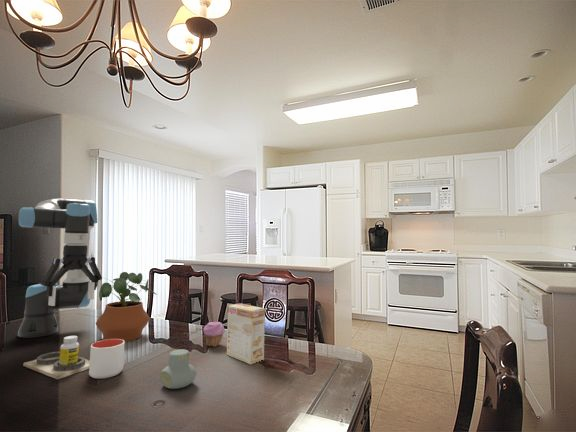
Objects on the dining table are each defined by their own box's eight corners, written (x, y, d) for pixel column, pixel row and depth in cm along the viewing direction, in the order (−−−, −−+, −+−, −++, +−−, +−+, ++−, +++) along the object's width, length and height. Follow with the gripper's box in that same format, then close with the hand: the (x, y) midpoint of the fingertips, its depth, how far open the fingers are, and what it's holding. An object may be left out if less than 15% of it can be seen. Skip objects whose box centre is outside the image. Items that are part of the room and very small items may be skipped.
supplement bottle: (67, 370, 107) (70, 340, 108) (54, 368, 109) (57, 338, 109) (81, 364, 113) (83, 335, 113) (68, 362, 114) (70, 334, 115)
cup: (129, 370, 111) (131, 340, 111) (104, 382, 101) (106, 349, 102) (107, 366, 114) (109, 337, 115) (81, 377, 104) (83, 345, 105)
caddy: (63, 354, 124) (63, 348, 124) (97, 365, 114) (97, 358, 114) (23, 365, 113) (23, 358, 113) (57, 379, 102) (57, 371, 103)
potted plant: (81, 341, 140) (85, 272, 143) (130, 325, 167) (133, 268, 169) (122, 347, 133) (126, 275, 136) (167, 330, 160) (169, 269, 163)
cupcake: (198, 346, 136) (199, 322, 137) (211, 341, 144) (211, 318, 145) (216, 349, 133) (217, 325, 134) (228, 343, 141) (228, 320, 142)
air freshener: (156, 384, 100) (158, 351, 101) (180, 376, 107) (181, 345, 108) (175, 395, 93) (176, 360, 94) (199, 385, 100) (200, 352, 101)
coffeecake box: (264, 360, 122) (265, 308, 124) (250, 365, 117) (251, 310, 118) (240, 350, 132) (241, 302, 134) (225, 354, 127) (227, 304, 129)
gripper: (43, 245, 107) (38, 309, 106) (113, 244, 129) (110, 297, 128) (31, 244, 111) (27, 306, 110) (102, 243, 133) (99, 295, 132)
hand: (71, 302), depth 119 cm, fingers open, 13 cm apart
